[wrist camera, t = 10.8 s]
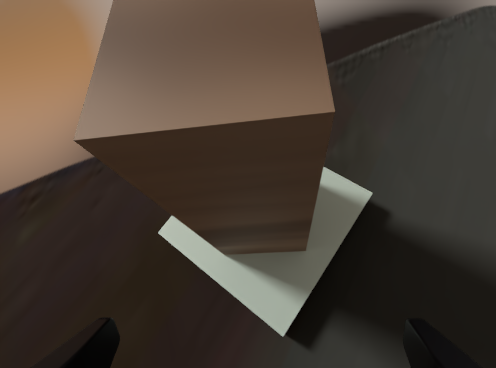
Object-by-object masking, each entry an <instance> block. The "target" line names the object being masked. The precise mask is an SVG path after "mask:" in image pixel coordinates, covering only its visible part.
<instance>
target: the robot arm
mask: <svg viewBox="0 0 496 368" xmlns="http://www.w3.org/2000/svg"><path fill="white" fill-rule="evenodd" d="M119 341H120V335H119V332H118V330H117V327H116V324H115V321H114V319H112V318H99V319H97V320H96V321H94V322H93V323H92V324H90V325H89V326H87V327H86V328H85V329H83V330H82V331H80V332H79V333H78V334H76V335H75V336H73V337H72V338H71V339H69V340H68V341H67V342H65V343H64V344H62V345H61V346H60V347H58V348H57V349H55V350H54V351H53V352H51V353H50V354H48V355H47V356H46V357H44V358H43V359H42V360H40V361H39V362H37V363H36V364H35V365H33V366H32V367H30V368H110V366H111V364H112V361H113V358H114V356H115V353H116V350H117V348H118V345H119ZM403 344H404V348H405V351H406V354H407V357H408V360H409V363H410V366H411V368H482V367H481V366H480V365H479V364H478V363H476V362H475V361H474V360H473V359H471V358H470V357H469V356H468V355H467V354H465V353H464V352H463V351H462V350H460V349H459V348H458V347H457V346H455V345H454V344H453V343H452V342H451V341H449V340H448V339H447V338H446V337H444V336H443V335H442V334H441V333H440V332H438V331H437V330H436V329H435V328H433V327H432V326H431V325H430V324H428V323H427V322H426V321H425V320H423V319H420V318H409V319H407V320H406V322H405V329H404V337H403Z"/></svg>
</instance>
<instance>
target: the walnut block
mask: <svg viewBox="0 0 496 368" xmlns="http://www.w3.org/2000/svg"><path fill="white" fill-rule="evenodd" d="M334 114H335V109H334V104H333V99H332V93H331V88H330V83H329V77H328V72H327V66H326V61H325V56H324V50H323V45H322V39H321V34H320V29H319V23H318V18H317V12H316V7H315V2H314V0H113V4H112V7H111V11H110V14H109V18H108V21H107V25H106V28H105V32H104V35H103V39H102V42H101V46H100V50H99V53H98V56H97V60H96V64H95V67H94V70H93V74H92V77H91V81H90V84H89V88H88V92H87V95H86V98H85V102H84V105H83V109H82V112H81V116H80V120H79V123H78V126H77V130H76V134H75V137H74V141H75V142H76V143H78V144H79V145H80V146H82V147H83V148H84V149H86V150H87V151H88V152H90V153H91V154H92V155H94V156H95V157H96V158H97V159H99V160H100V161H101V162H103V163H104V164H105V165H107V166H108V167H109V168H111V169H112V170H113V171H115V172H116V173H117V174H118V175H120V176H121V177H122V178H124V179H125V180H126V181H128V182H129V183H130V184H132V185H133V186H134V187H136V188H137V189H138V190H140V191H141V192H142V193H143V194H145V195H146V196H147V197H149V198H150V199H151V200H153V201H154V202H155V203H157V204H158V205H159V206H161V207H162V208H163V209H164V210H166V211H167V212H168V213H170V214H171V215H172V216H174V217H175V218H176V219H178V220H179V221H180V222H182V223H183V224H184V225H185V226H187V227H188V228H189V229H191V230H192V231H193V232H195V233H196V234H197V235H199V236H200V237H201V238H203V239H204V240H205V241H207V242H208V243H209V244H210V245H212V246H213V247H214V248H216V249H217V250H218V251H220V252H221V253H222V254H224V255H232V254H253V253H274V252H295V251H306V248H307V243H308V238H309V233H310V229H311V224H312V219H313V214H314V209H315V205H316V200H317V195H318V190H319V185H320V181H321V176H322V171H323V166H324V161H325V157H326V152H327V147H328V142H329V138H330V133H331V128H332V123H333V118H334Z"/></svg>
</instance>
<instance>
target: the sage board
mask: <svg viewBox="0 0 496 368" xmlns="http://www.w3.org/2000/svg"><path fill="white" fill-rule="evenodd" d="M371 195H372V192H370V191H368V190H366V189H364V188H362V187H360V186H359V185H357V184H355V183H353V182H351V181H349V180H347V179H345V178H344V177H342V176H340V175H338V174H336V173H334V172H332V171H331V170H329V169H327V168H325V167H323V171H322V176H321V181H320V185H319V190H318V195H317V200H316V205H315V209H314V214H313V219H312V224H311V229H310V233H309V238H308V243H307V248H306V251H295V252H274V253H253V254H232V255H224V254H222V253H221V252H220V251H218V250H217V249H216V248H214V247H213V246H212V245H210V244H209V243H208V242H207V241H205V240H204V239H203V238H201V237H200V236H199V235H197V234H196V233H195V232H193V231H192V230H191V229H189V228H188V227H187V226H185V225H184V224H183V223H182V222H180V221H179V220H178V219H176V218H175V217H174V216H171V217H170V219H169V220H168V221H167V222H166V223H165V225H164V226H163V227H162V228H161V230H160V231H159V232H158V233H159V234H160V235H161V236H162V237H163V238H165V239H166V240H167V241H168V242H169V243H171V244H172V245H173V246H174V247H176V248H177V249H178V250H179V251H180V252H182V253H183V254H184V255H185V256H186V257H188V258H189V259H190V260H191V261H192V262H194V263H195V264H196V265H197V266H198V267H200V268H201V269H202V270H203V271H204V272H206V273H207V274H208V275H209V276H210V277H212V278H213V279H214V280H215V281H216V282H218V283H219V284H220V285H221V286H222V287H224V288H225V289H226V290H227V291H228V292H230V293H231V294H232V295H233V296H234V297H236V298H237V299H238V300H239V301H240V302H242V303H243V304H244V305H245V306H246V307H248V308H249V309H250V310H251V311H253V312H254V313H255V314H256V315H257V316H259V317H260V318H261V319H262V320H263V321H265V322H266V323H267V324H268V325H269V326H271V327H272V328H273V329H274V330H275V331H277V332H278V333H279V334H280V335H281V336H284V335H285V333H286V331H287V330H288V328H289V327H290V325H291V323H292V322H293V320H294V319H295V317H296V315H297V314H298V312H299V311H300V309H301V307H302V306H303V304H304V303H305V301H306V299H307V298H308V296H309V295H310V293H311V291H312V290H313V288H314V287H315V285H316V283H317V282H318V280H319V279H320V277H321V275H322V274H323V272H324V270H325V269H326V267H327V266H328V264H329V262H330V261H331V259H332V258H333V256H334V254H335V253H336V251H337V250H338V248H339V246H340V245H341V243H342V242H343V240H344V238H345V237H346V235H347V234H348V232H349V230H350V229H351V227H352V226H353V224H354V222H355V221H356V219H357V217H358V216H359V214H360V213H361V211H362V209H363V208H364V206H365V205H366V203H367V201H368V200H369V198H370V197H371Z"/></svg>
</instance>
